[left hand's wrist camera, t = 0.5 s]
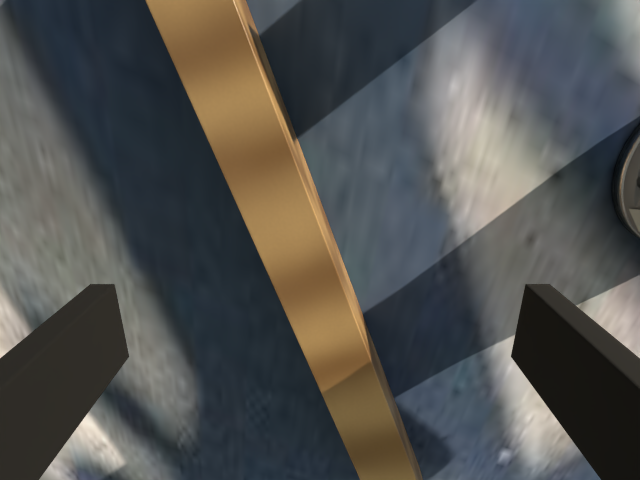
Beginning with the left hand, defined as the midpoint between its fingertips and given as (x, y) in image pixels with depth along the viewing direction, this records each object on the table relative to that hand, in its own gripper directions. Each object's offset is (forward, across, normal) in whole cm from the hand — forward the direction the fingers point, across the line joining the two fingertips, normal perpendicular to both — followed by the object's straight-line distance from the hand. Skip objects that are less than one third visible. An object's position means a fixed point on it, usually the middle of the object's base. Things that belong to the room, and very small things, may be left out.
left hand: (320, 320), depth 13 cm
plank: (+26, -1, -7) cm, 27 cm away
